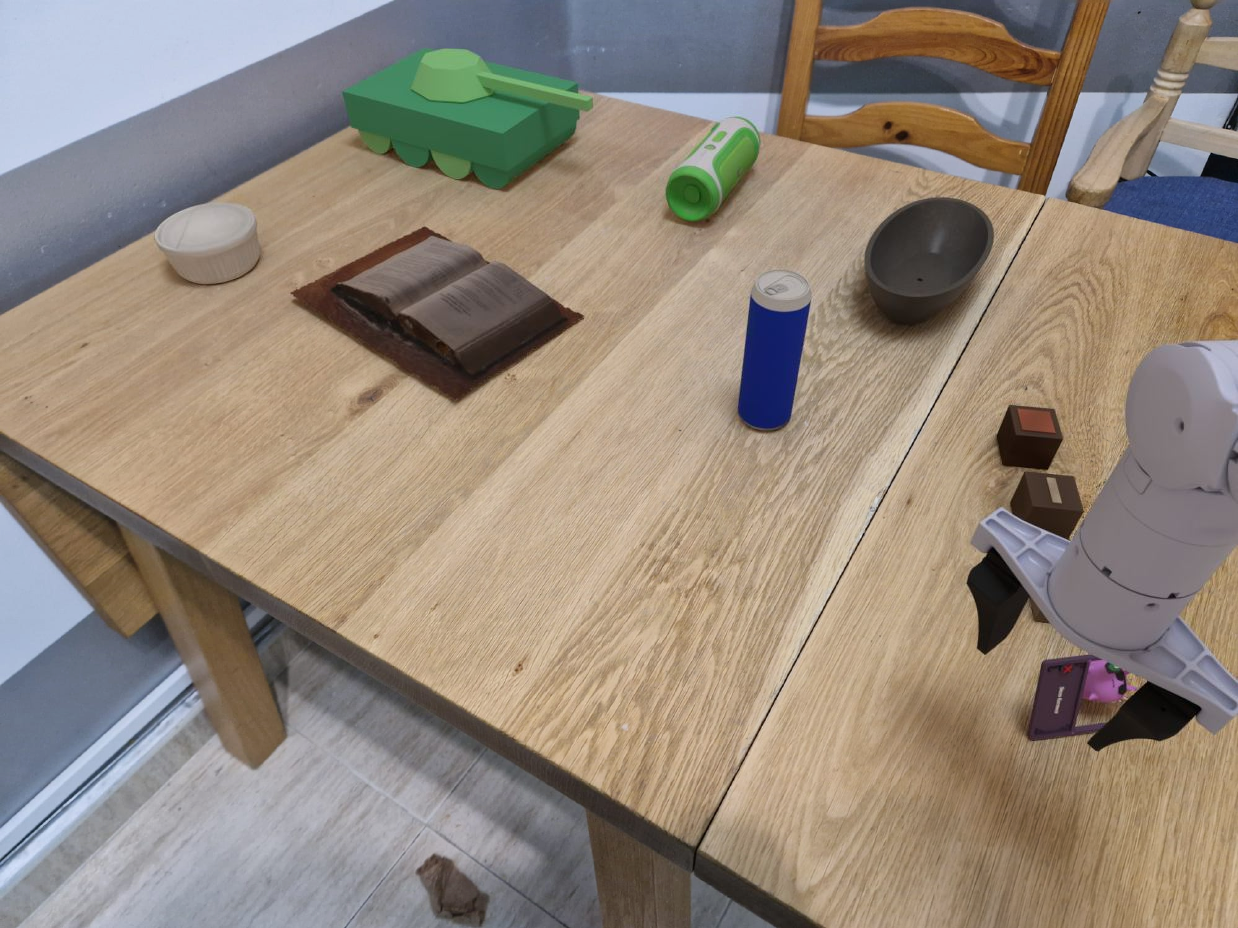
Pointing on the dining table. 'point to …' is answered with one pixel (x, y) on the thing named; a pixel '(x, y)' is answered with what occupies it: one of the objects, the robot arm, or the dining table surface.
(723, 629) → the dining table surface
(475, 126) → the toy tank
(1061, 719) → the game card
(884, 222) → the bowl
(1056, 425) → the brown box
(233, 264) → the ramekin
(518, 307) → the book
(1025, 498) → the brown box
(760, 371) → the beverage can
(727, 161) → the speaker
